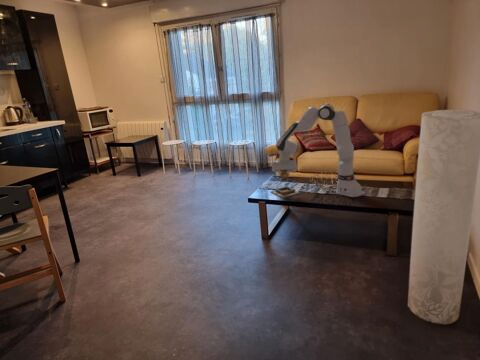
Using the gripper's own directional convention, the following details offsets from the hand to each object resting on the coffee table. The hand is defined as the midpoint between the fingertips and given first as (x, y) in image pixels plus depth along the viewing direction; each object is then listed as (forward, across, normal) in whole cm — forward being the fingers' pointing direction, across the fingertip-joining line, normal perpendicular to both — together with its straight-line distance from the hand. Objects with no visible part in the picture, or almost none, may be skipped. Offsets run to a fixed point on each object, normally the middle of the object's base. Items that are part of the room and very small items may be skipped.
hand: (284, 175), depth 269 cm
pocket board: (+10, 0, +11) cm, 15 cm away
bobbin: (+3, 0, +4) cm, 4 cm away
